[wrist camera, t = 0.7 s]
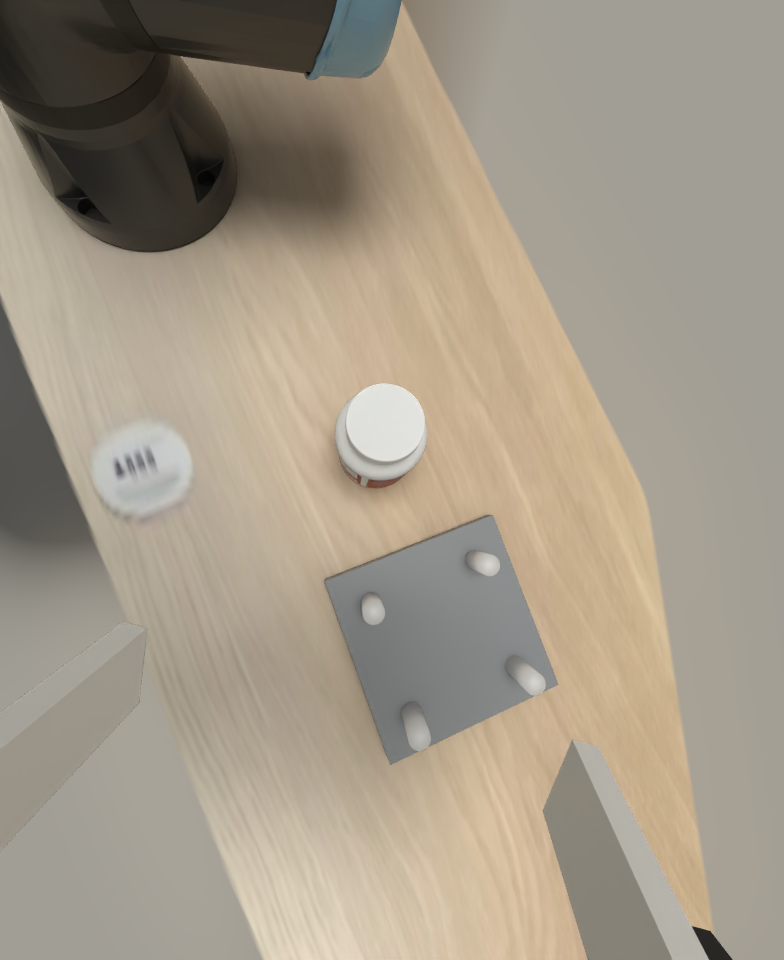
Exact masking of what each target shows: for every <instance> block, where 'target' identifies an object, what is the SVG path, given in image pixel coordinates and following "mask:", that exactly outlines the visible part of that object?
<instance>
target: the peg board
mask: <svg viewBox="0 0 784 960" xmlns="http://www.w3.org/2000/svg"><path fill="white" fill-rule="evenodd" d="M324 582H325V584H326V587H327V590H328V593H329V595H330V598H331V601H332V604H333V607H334V609H335V612H336V615H337V618H338V620H339V623H340V626H341V629H342V632H343V634H344V637H345V640H346V643H347V646H348V648H349V651H350V654H351V657H352V659H353V662H354V665H355V668H356V671H357V673H358V676H359V679H360V682H361V685H362V687H363V690H364V693H365V696H366V698H367V701H368V704H369V707H370V710H371V712H372V715H373V718H374V721H375V723H376V726H377V729H378V732H379V735H380V737H381V740H382V743H383V746H384V749H385V751H386V754H387V757H388V760H389V762H390V765H391V764H393V763H395V762H397V761H399V760H401V759H403V758H406V757H408V756H410V755H412V754H414V753H416V752H418V751H422V750H425V749H426V748H427V747H429V746H431V745H433V744H435V743H437V742H439V741H441V740H443V739H445V738H447V737H450V736H452V735H454V734H456V733H458V732H460V731H462V730H464V729H466V728H468V727H471V726H473V725H475V724H477V723H479V722H481V721H483V720H485V719H487V718H489V717H492V716H494V715H496V714H498V713H500V712H502V711H504V710H506V709H508V708H510V707H513V706H515V705H517V704H519V703H521V702H523V701H525V700H527V699H529V698H531V697H534V696H538V695H540V694H541V693H543V692H544V691H546V690H548V689H550V688H552V687H555V686H557V685H558V682H557V680H556V677H555V675H554V672H553V669H552V667H551V664H550V662H549V659H548V657H547V654H546V651H545V649H544V646H543V644H542V641H541V638H540V636H539V633H538V631H537V628H536V626H535V623H534V620H533V618H532V615H531V613H530V610H529V607H528V605H527V602H526V600H525V597H524V595H523V592H522V589H521V587H520V584H519V582H518V579H517V576H516V574H515V571H514V569H513V566H512V564H511V561H510V558H509V556H508V553H507V551H506V548H505V545H504V543H503V540H502V538H501V535H500V533H499V530H498V527H497V525H496V522H495V520H494V517H493V515H486V516H484V517H481V518H479V519H476V520H474V521H471V522H469V523H466V524H464V525H461V526H459V527H456V528H453V529H451V530H448V531H446V532H443V533H441V534H438V535H436V536H433V537H431V538H428V539H426V540H423V541H420V542H418V543H415V544H413V545H410V546H408V547H405V548H403V549H400V550H398V551H395V552H393V553H390V554H388V555H385V556H382V557H380V558H377V559H375V560H372V561H370V562H367V563H365V564H362V565H360V566H357V567H355V568H352V569H350V570H347V571H344V572H342V573H339V574H337V575H334V576H332V577H329V578H327V579H325V581H324Z"/></svg>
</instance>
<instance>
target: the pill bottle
mask: <svg viewBox="0 0 784 960" xmlns="http://www.w3.org/2000/svg"><path fill="white" fill-rule="evenodd" d="M335 442H336V447H337V450H338V454H339V458H340V462H341V465H342V467H343V469H344V471H345V472H346V474H347V475H348V476H349V477H350V478H351V479H352V480H353V481H354V482H356V483H358V484H360V485H362V486H365V487H369V488H381V487H386V486H389V485H391V484H393V483H395V482H397V481H398V480H399V479H401V478H402V477H403V476H404V475H405V474H406V473H407V472H409V471H410V470H411V469H412V468H413V467H414V466H415V465H416V464H417V462H418V461H419V460H420V458H421V456H422V455H423V452H424V450H425V447H426V442H427V428H426V423H425V416H424V412H423V409H422V407H421V405H420V403H419V402H418V400H417V399H416V398H415V397H414V396H413V395H412V394H411V393H410V392H409V391H408V390H406V389H404V388H402V387H400V386H398V385H394V384H388V383H381V384H375V385H372V386H369V387H367V388H365V389H363V390H362V391H360V392H359V393H358V394H357V395H355V396H354V397H353V398H351V399H350V400H349V401H348V402H347V403H346V404H345V405H344V407H343V408H342V410H341V411H340V413H339V416H338V418H337V421H336V426H335Z"/></svg>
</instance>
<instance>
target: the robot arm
mask: <svg viewBox="0 0 784 960" xmlns="http://www.w3.org/2000/svg"><path fill="white" fill-rule="evenodd" d="M401 1H402V0H0V101H1V103H2V105H3V107H4V109H5V111H6V113H7V115H8V117H9V119H10V121H11V123H12V125H13V127H14V129H15V131H16V133H17V135H18V136H19V138H20V140H21V142H22V144H23V146H24V148H25V150H26V152H27V154H28V156H29V158H30V160H31V162H32V164H33V166H34V168H35V170H36V172H37V174H38V176H39V178H40V180H41V182H42V183H43V185H44V186H45V188H46V189H47V190H48V192H49V193H50V195H51V196H52V197H53V198H54V199H55V201H56V202H57V203H58V204H59V205H60V206H61V207H62V208H63V209H64V210H65V211H66V212H67V213H68V215H69V216H70V217H71V218H72V219H73V220H74V221H75V222H76V223H77V224H78V225H79V226H81V227H82V228H83V229H84V230H86V231H87V232H88V233H90V234H91V235H93V236H95V237H97V238H98V239H100V240H102V241H105V242H107V243H109V244H112V245H115V246H118V247H122V248H126V249H132V250H140V251H157V250H165V249H171V248H175V247H178V246H182V245H184V244H187V243H189V242H191V241H194V240H195V239H197V238H199V237H201V236H202V235H204V234H205V233H207V232H208V231H209V230H210V229H211V228H213V227H214V226H215V225H216V224H217V223H218V222H219V220H220V219H221V218H222V217H223V215H224V214H225V212H226V211H227V209H228V207H229V205H230V203H231V201H232V199H233V196H234V192H235V188H236V181H237V167H236V161H235V156H234V153H233V150H232V147H231V144H230V141H229V138H228V135H227V132H226V129H225V126H224V124H223V122H222V120H221V118H220V116H219V114H218V112H217V110H216V109H215V107H214V106H213V104H212V103H211V101H210V100H209V98H208V97H207V95H206V94H205V92H204V91H203V89H202V88H201V86H200V85H199V83H198V82H197V80H196V79H195V78H194V76H193V75H192V73H191V72H190V70H189V69H188V67H187V66H186V64H185V63H184V61H183V60H182V58H181V57H180V56H183V57H190V58H197V59H205V60H212V61H219V62H226V63H233V64H241V65H248V66H255V67H262V68H270V69H277V70H284V71H291V72H299V73H304V74H305V78H306V79H309V80H315V79H317V78H318V77H319V76H331V77H345V78H364V77H367V76H369V75H371V74H372V73H373V72H374V71H375V70H376V69H377V68H378V67H379V66H380V65H381V63H382V62H383V60H384V58H385V56H386V54H387V52H388V50H389V47H390V44H391V41H392V38H393V34H394V30H395V27H396V23H397V18H398V14H399V10H400V5H401ZM146 636H147V628H146V627H142V626H138V625H134V624H131V623H126V622H122V623H121V624H119V625H118V626H117V627H115V628H114V629H112V630H111V631H110V632H108V633H107V634H106V635H104V636H103V637H102V638H100V639H99V640H98V641H96V642H95V643H94V644H92V645H91V646H89V647H88V648H87V649H85V650H84V651H83V652H81V653H80V654H79V655H77V656H76V657H74V658H73V659H72V660H70V661H69V662H68V663H66V664H65V665H64V666H62V667H61V668H60V669H58V670H57V671H56V672H54V673H53V674H51V675H50V676H49V677H47V678H46V679H45V680H43V681H42V682H41V683H39V684H38V685H37V686H35V687H34V688H32V689H31V690H30V691H28V692H27V693H26V694H24V695H23V696H22V697H20V698H19V699H18V700H16V701H15V702H13V703H12V704H11V705H9V706H8V707H7V708H5V709H4V710H3V711H2V712H0V851H1V850H2V849H3V848H4V847H5V846H6V845H7V844H8V842H10V841H11V839H12V838H13V837H14V836H15V835H16V834H17V833H18V832H19V831H20V830H21V829H22V828H23V827H24V825H26V823H27V822H28V821H29V820H30V819H31V818H32V817H33V816H34V815H35V814H36V813H37V812H38V811H39V809H40V808H41V807H42V806H43V805H44V804H45V803H46V802H47V801H48V800H49V799H50V798H51V797H52V796H53V795H54V793H55V792H56V791H57V790H58V789H59V788H60V787H61V786H62V785H63V784H64V783H65V782H66V781H67V780H68V778H69V777H70V776H71V775H72V774H73V773H74V772H75V771H76V770H77V769H78V768H79V767H80V766H81V764H83V762H84V761H85V760H86V759H87V758H88V757H89V756H90V755H91V754H92V753H93V752H94V751H95V750H96V748H97V747H98V746H99V745H100V744H101V743H102V742H103V741H104V740H105V739H106V738H107V737H108V736H109V735H110V734H111V733H112V731H113V730H114V729H115V728H116V727H117V726H118V725H119V724H120V723H121V722H122V721H123V720H124V719H125V718H126V716H127V715H128V714H129V713H130V712H131V711H132V710H133V709H134V708H135V707H136V706H137V705H138V704H139V700H140V691H141V681H142V673H143V664H144V654H145V645H146ZM543 813H544V817H545V820H546V823H547V826H548V830H549V833H550V836H551V840H552V843H553V846H554V850H555V853H556V856H557V860H558V863H559V866H560V869H561V873H562V876H563V879H564V883H565V886H566V889H567V893H568V896H569V899H570V902H571V906H572V909H573V912H574V916H575V919H576V922H577V926H578V929H579V932H580V936H581V939H582V942H583V945H584V949H585V952H586V955H587V959H588V960H732V958H731V957H730V956H729V955H728V953H727V952H726V951H725V949H724V948H723V947H722V946H721V944H720V943H719V942H718V941H717V939H716V938H715V937H714V935H713V934H712V933H711V931H708V930H704V929H701V928H697V927H693V926H691V924H690V922H689V920H688V918H687V916H686V915H685V913H684V911H683V909H682V907H681V905H680V903H679V901H678V899H677V897H676V895H675V893H674V892H673V890H672V888H671V886H670V884H669V882H668V880H667V878H666V876H665V874H664V872H663V870H662V868H661V867H660V865H659V863H658V861H657V859H656V857H655V855H654V853H653V851H652V849H651V847H650V845H649V843H648V842H647V840H646V838H645V836H644V834H643V832H642V830H641V828H640V826H639V824H638V822H637V820H636V818H635V817H634V815H633V813H632V811H631V809H630V807H629V805H628V803H627V801H626V799H625V797H624V795H623V793H622V792H621V790H620V788H619V786H618V784H617V782H616V780H615V778H614V776H613V774H612V772H611V770H610V768H609V767H608V765H607V763H606V761H605V759H604V757H603V755H602V753H601V751H600V749H599V747H598V746H596V745H592V744H588V743H584V742H580V741H577V740H573V739H572V742H571V744H570V746H569V749H568V751H567V754H566V756H565V758H564V761H563V763H562V766H561V768H560V770H559V773H558V775H557V777H556V780H555V782H554V785H553V787H552V789H551V792H550V794H549V797H548V799H547V801H546V804H545V806H544V809H543Z"/></svg>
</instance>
